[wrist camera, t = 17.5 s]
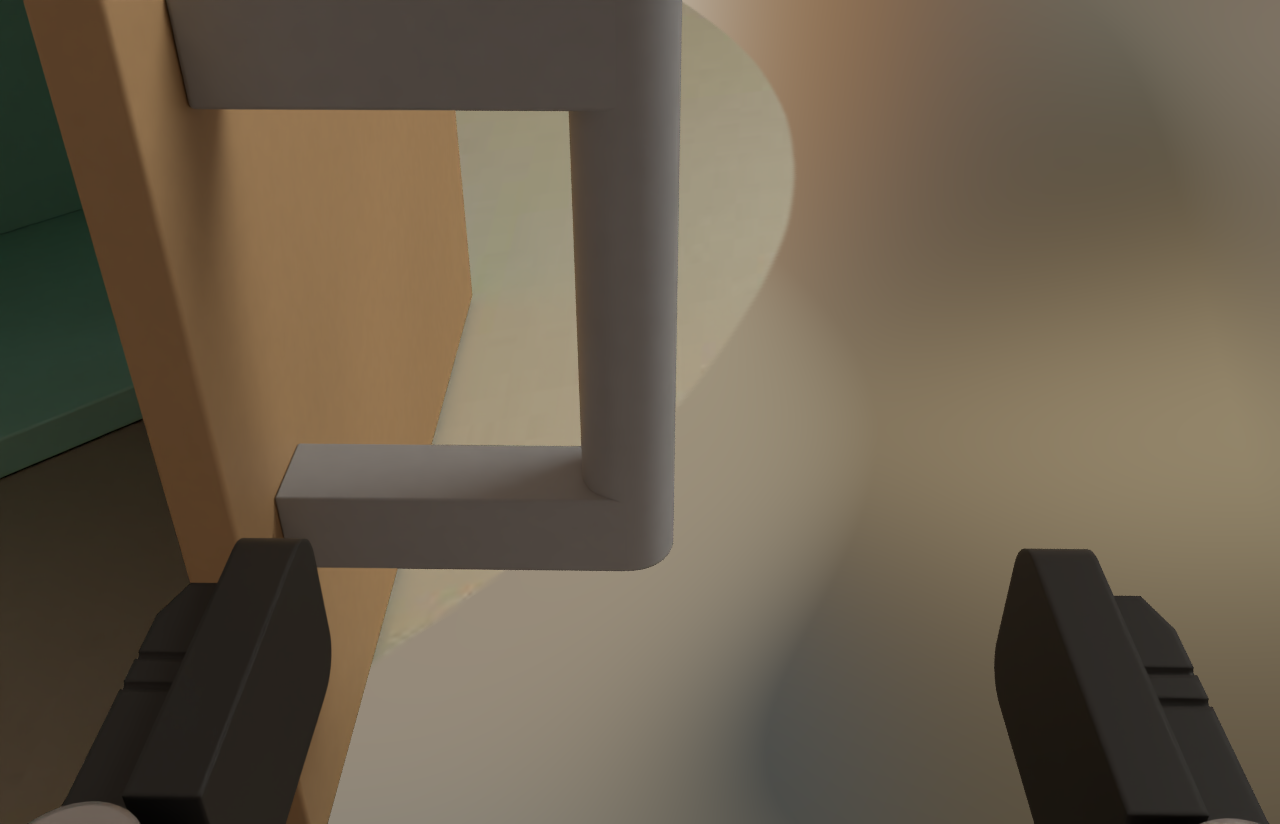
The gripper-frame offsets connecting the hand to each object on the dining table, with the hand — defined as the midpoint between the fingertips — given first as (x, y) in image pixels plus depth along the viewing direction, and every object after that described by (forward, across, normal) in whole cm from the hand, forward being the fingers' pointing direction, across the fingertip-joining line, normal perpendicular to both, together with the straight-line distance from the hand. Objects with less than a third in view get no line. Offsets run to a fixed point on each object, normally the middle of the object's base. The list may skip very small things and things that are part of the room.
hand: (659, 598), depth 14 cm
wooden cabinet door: (+15, +4, +11) cm, 19 cm away
